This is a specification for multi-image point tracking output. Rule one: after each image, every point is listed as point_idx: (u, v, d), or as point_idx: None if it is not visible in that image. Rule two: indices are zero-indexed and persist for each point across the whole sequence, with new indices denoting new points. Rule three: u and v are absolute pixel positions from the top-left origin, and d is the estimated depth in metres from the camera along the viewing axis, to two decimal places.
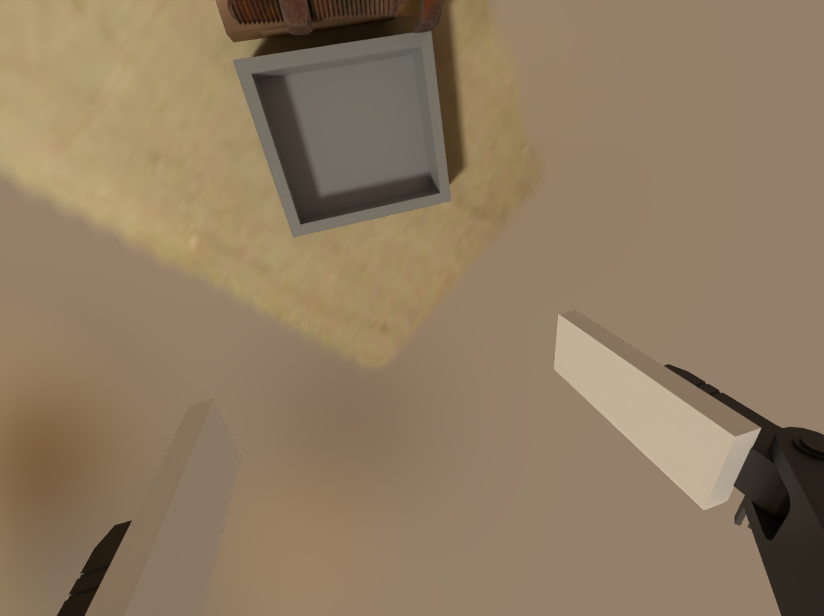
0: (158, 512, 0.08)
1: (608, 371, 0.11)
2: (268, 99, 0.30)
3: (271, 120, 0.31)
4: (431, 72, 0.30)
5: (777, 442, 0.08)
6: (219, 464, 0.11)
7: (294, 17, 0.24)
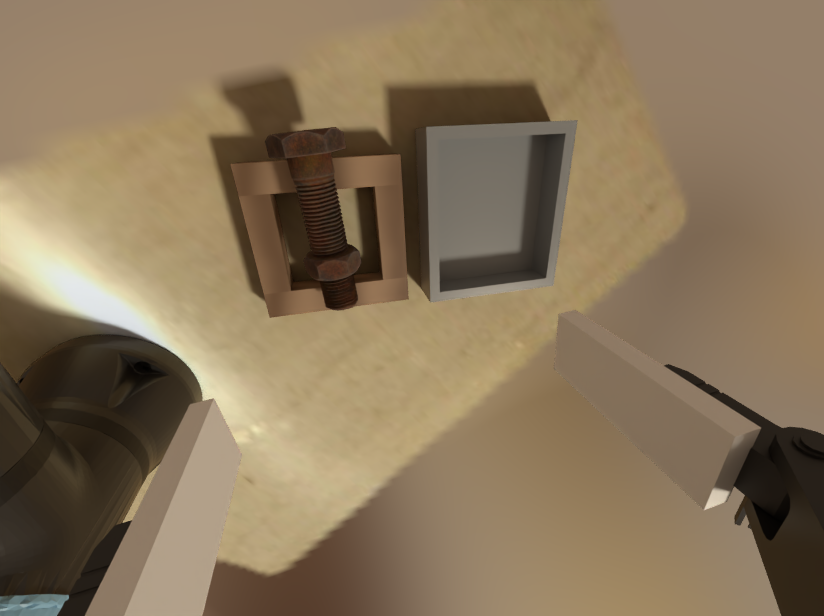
0: (158, 512, 0.08)
1: (608, 371, 0.11)
2: (444, 276, 0.38)
3: (458, 277, 0.38)
4: (460, 130, 0.29)
5: (777, 442, 0.08)
6: (219, 464, 0.11)
7: None
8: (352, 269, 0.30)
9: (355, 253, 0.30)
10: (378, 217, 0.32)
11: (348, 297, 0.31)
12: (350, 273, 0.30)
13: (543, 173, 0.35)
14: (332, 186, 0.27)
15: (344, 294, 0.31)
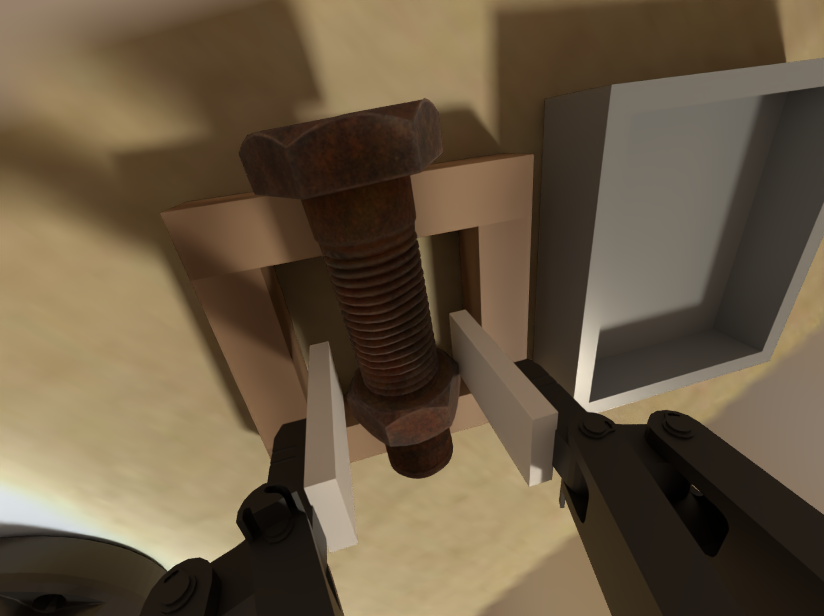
0: (325, 408, 0.10)
1: (476, 365, 0.13)
2: None
3: (598, 358, 0.22)
4: (679, 89, 0.13)
5: (570, 432, 0.09)
6: (338, 392, 0.13)
7: None
8: (453, 411, 0.14)
9: (454, 374, 0.14)
10: (481, 284, 0.16)
11: (440, 454, 0.15)
12: (451, 422, 0.14)
13: (768, 166, 0.19)
14: (414, 249, 0.11)
15: (434, 453, 0.15)
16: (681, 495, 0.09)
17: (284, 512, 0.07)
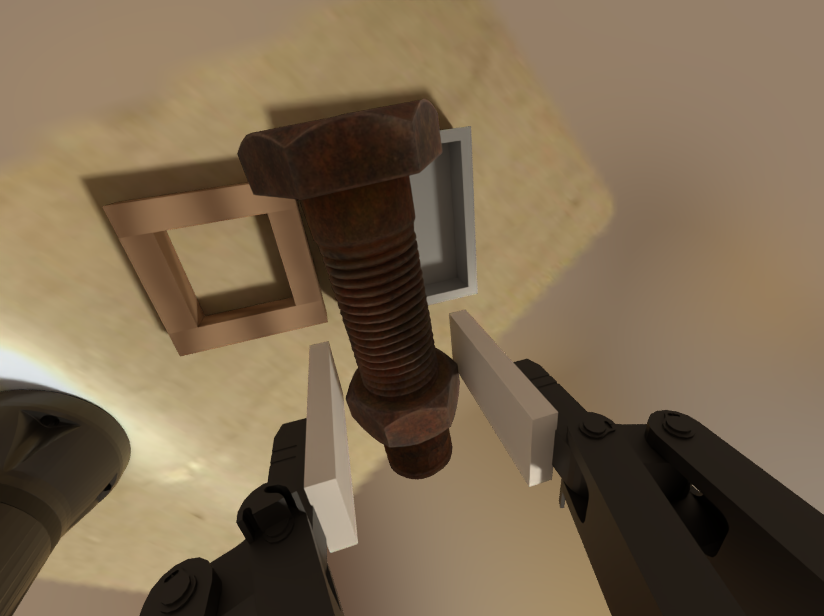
0: (325, 408, 0.10)
1: (475, 364, 0.13)
2: None
3: None
4: None
5: (569, 432, 0.09)
6: (338, 392, 0.13)
7: None
8: (453, 412, 0.14)
9: (454, 374, 0.14)
10: (278, 244, 0.31)
11: (439, 455, 0.15)
12: (451, 422, 0.14)
13: (451, 181, 0.34)
14: (413, 249, 0.11)
15: (433, 453, 0.15)
16: (681, 495, 0.09)
17: (284, 512, 0.07)
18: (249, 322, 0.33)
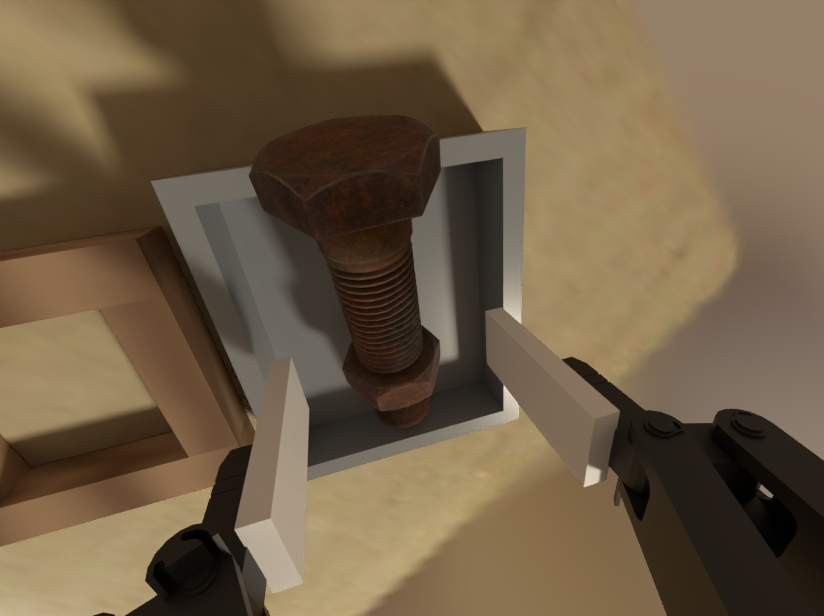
0: (273, 434, 0.10)
1: (518, 363, 0.12)
2: (324, 417, 0.21)
3: (351, 414, 0.22)
4: (245, 180, 0.12)
5: (633, 429, 0.08)
6: (299, 411, 0.12)
7: None
8: (434, 382, 0.17)
9: (436, 351, 0.16)
10: (134, 361, 0.15)
11: (420, 411, 0.19)
12: (431, 391, 0.16)
13: (477, 229, 0.18)
14: (409, 258, 0.12)
15: (415, 410, 0.18)
16: (746, 496, 0.08)
17: (205, 559, 0.07)
18: (99, 490, 0.18)
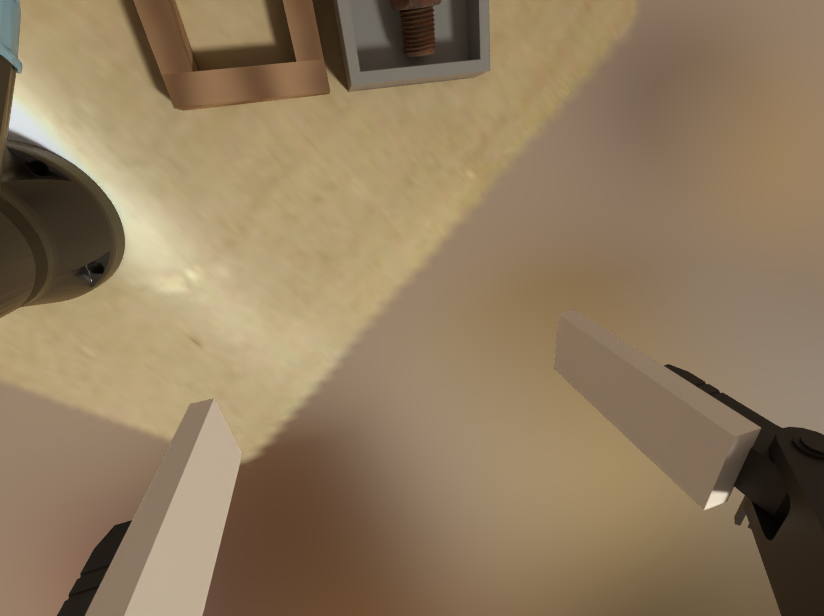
0: (158, 512, 0.08)
1: (608, 371, 0.11)
2: (371, 71, 0.34)
3: None
4: None
5: (777, 442, 0.08)
6: (219, 464, 0.11)
7: None
8: None
9: None
10: None
11: (430, 38, 0.32)
12: (437, 0, 0.30)
13: None
14: None
15: (427, 32, 0.31)
16: None
17: None
18: (246, 74, 0.31)
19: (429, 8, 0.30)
